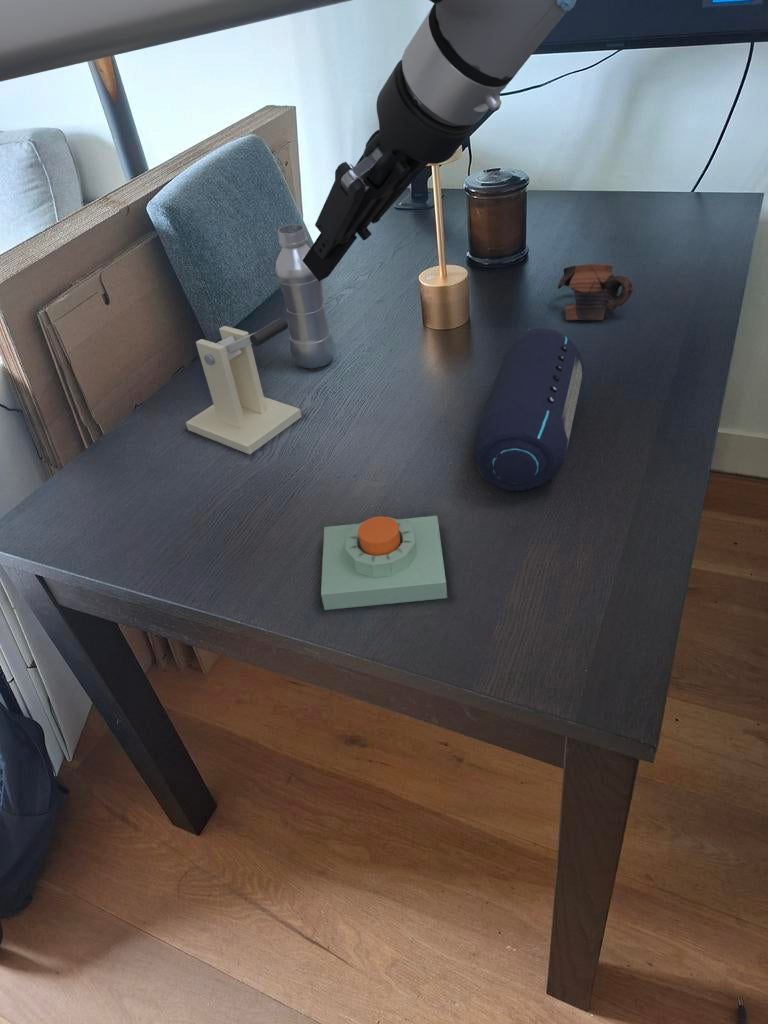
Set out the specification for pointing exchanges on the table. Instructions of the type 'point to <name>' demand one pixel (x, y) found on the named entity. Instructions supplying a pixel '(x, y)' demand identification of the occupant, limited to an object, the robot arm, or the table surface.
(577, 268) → the pottery mug
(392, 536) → the button
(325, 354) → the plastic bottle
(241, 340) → the lever
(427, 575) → the button block
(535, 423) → the portable speaker
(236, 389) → the bracket
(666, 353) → the table surface
